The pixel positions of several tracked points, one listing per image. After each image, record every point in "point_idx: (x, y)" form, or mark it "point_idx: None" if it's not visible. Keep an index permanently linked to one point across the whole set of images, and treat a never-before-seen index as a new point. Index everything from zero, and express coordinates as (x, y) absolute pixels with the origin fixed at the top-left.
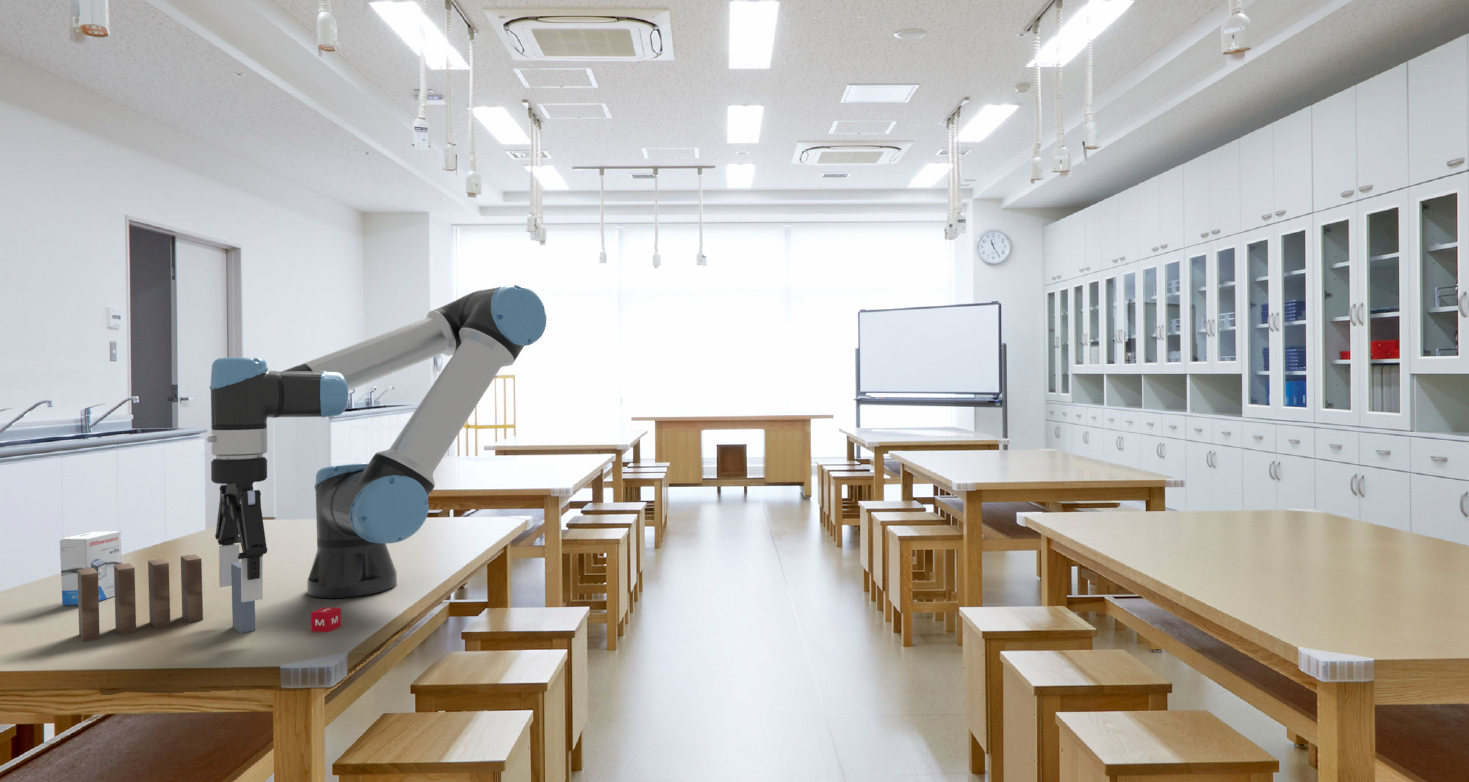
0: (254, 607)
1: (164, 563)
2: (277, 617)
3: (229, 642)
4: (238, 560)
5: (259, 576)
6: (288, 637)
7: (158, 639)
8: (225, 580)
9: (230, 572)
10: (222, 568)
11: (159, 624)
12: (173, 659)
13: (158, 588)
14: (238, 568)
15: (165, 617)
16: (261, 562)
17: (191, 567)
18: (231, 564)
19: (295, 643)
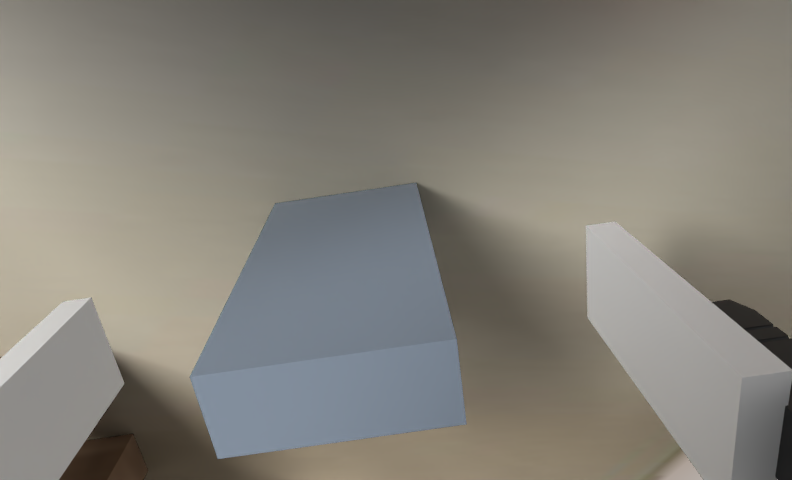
0: (423, 219)
1: None
2: (231, 72)
3: (539, 278)
4: (1, 396)
5: (744, 307)
6: (647, 75)
7: (321, 459)
8: (98, 382)
9: (69, 388)
10: (65, 451)
11: (140, 469)
12: (618, 422)
13: None
14: (441, 422)
15: (123, 471)
16: (748, 342)
17: None
18: (231, 451)
19: (768, 61)
